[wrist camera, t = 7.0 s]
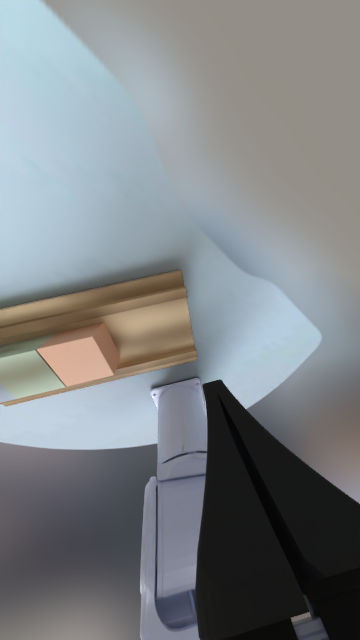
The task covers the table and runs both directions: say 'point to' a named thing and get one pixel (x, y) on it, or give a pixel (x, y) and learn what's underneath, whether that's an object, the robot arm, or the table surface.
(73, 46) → the table surface
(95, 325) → the peach pink cube
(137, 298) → the oak channel board
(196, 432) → the robot arm
